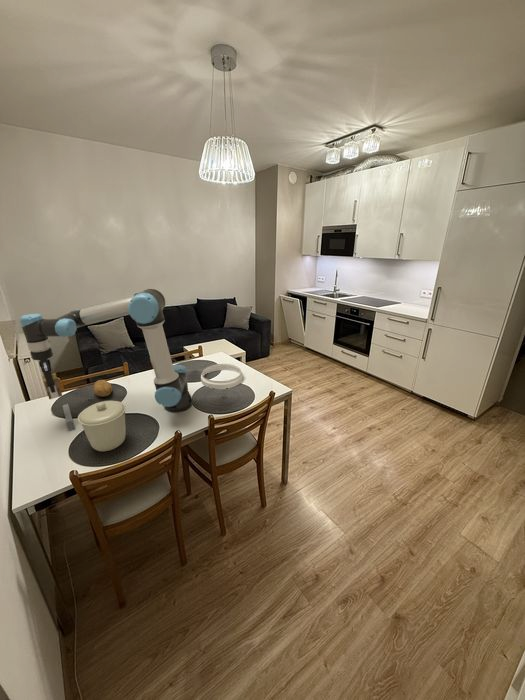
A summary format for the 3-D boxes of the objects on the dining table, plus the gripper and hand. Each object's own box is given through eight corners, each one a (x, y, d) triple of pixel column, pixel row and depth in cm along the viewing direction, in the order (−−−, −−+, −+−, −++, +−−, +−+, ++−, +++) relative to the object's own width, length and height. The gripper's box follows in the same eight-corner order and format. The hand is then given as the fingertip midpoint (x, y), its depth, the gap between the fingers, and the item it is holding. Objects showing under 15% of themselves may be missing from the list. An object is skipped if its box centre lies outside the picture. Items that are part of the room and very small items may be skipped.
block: (62, 395, 132) (56, 377, 128) (49, 399, 129) (43, 380, 125) (61, 391, 136) (55, 373, 132) (48, 395, 133) (42, 376, 129)
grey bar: (75, 429, 135) (72, 420, 133) (69, 430, 133) (66, 422, 131) (70, 411, 148) (68, 403, 146) (64, 413, 146) (62, 405, 144)
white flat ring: (231, 367, 202) (231, 360, 200) (250, 382, 180) (250, 375, 178) (195, 376, 188) (194, 368, 186) (210, 393, 167) (210, 385, 165)
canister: (118, 425, 137) (109, 387, 130) (139, 440, 128) (132, 400, 120) (78, 446, 123) (66, 405, 116) (99, 464, 114) (88, 421, 106)
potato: (97, 403, 156) (94, 390, 153) (92, 392, 166) (89, 380, 163) (116, 397, 162) (114, 385, 159) (110, 387, 172) (108, 376, 169)
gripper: (52, 353, 119) (66, 400, 128) (49, 341, 132) (62, 385, 141) (30, 357, 115) (46, 406, 123) (29, 345, 128) (43, 390, 137)
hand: (54, 395), depth 132 cm, fingers closed on block, 5 cm apart
